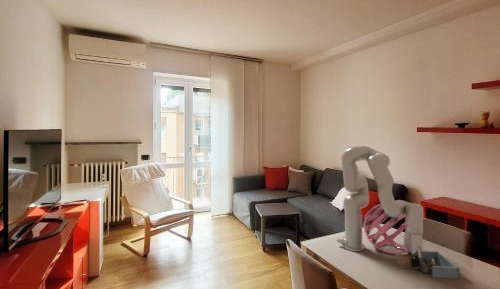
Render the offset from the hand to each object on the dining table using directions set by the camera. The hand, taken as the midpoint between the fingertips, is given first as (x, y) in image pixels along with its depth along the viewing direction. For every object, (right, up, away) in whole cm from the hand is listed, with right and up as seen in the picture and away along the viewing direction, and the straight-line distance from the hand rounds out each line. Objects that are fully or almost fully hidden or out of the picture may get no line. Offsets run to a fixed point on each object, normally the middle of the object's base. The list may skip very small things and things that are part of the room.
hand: (413, 264), depth 133 cm
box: (+10, -2, -1) cm, 10 cm away
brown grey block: (-2, -2, 0) cm, 2 cm away
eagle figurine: (+6, -2, -3) cm, 7 cm away
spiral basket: (-2, -1, +22) cm, 22 cm away
